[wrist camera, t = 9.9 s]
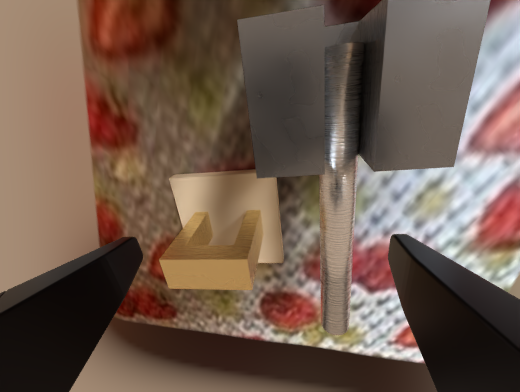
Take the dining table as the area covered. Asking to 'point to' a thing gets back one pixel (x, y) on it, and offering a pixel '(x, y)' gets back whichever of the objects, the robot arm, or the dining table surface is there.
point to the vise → (357, 106)
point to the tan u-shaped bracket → (213, 256)
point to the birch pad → (232, 206)
